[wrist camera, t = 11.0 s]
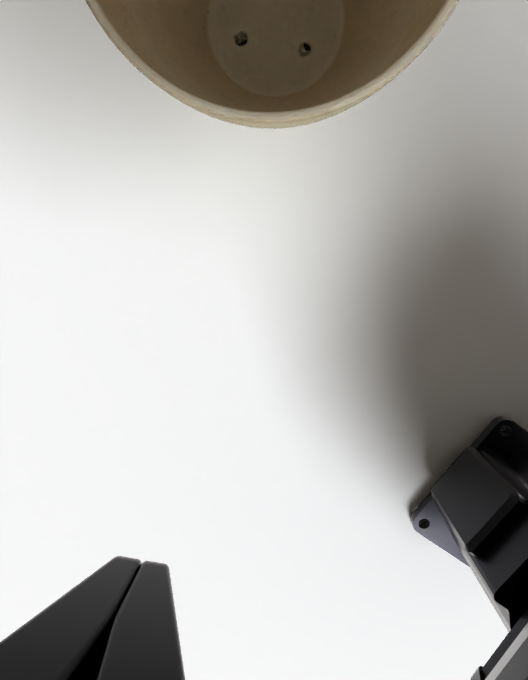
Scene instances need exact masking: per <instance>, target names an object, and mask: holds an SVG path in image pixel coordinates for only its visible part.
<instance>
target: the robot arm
mask: <svg viewBox="0 0 528 680" xmlns="http://www.w3.org/2000/svg"><path fill="white" fill-rule="evenodd" d="M505 425H507V429H506V431H504V432H501V433H500V429H501V427H503V426H505ZM422 519H427V520H426V522H425V523H422V524H420V523H419V521H420V520H422ZM411 523H412V525H413V527H414V529H415V530H416V531H417V532H418V533H420V534H421V535H423V536H424V537H426V538H427V539H429V540H430V541H432V542H433V543H435V544H436V545H438V546H439V547H441V548H442V549H444V550H445V551H447V552H448V553H450V554H451V555H453V556H454V557H456V558H457V559H459V560H460V561H462V562H463V563H465V564H466V565H468V566H469V567H470V568H471V569H472V571H473V573H474V574H475V576H476V578H477V580H478V581H479V583H480V585H481V586H482V588H483V590H484V591H485V593H486V595H487V596H488V598H489V600H490V601H491V603H492V605H493V606H494V608H495V610H496V611H497V613H498V615H499V617H500V618H501V620H502V622H503V623H504V625H505V627H506V628H507V630H508V632H509V633H508V635H507V636H506V637H505V639H504V640H503V641H502V643H501V644H500V645H499V647H498V648H497V649H496V651H495V652H494V654H493V655H492V656H491V658H490V659H489V660H488V662H487V663H486V664H485V666H484V667H482V666H480V667H478V669H477V670H476V672H475V673H474V674H473V676H472V677H471V680H528V431H526V430H525V429H523V428H522V427H521V426H519V425H518V424H516V423H515V422H514V421H512V420H511V419H509V418H507V417H498V418H496V419H494V420H493V421H492V422H491V423H490V424H489V426H488V427H487V428H486V429H485V430H484V431H483V433H482V434H481V435H480V436H479V437H478V438H477V439H476V441H475V442H474V443H473V444H472V445H471V446H470V448H467V449H465V450H464V451H463V452H462V454H461V455H460V456H459V457H458V458H457V459H456V461H455V462H454V463H453V464H452V465H451V466H450V467H449V469H448V470H447V471H446V472H445V473H444V474H443V476H442V477H441V478H440V479H439V480H438V481H437V483H436V484H435V485H434V486H433V487H432V489H431V493H430V494H429V495H428V496H427V497H426V498H425V499H424V501H423V502H422V503H421V504H420V505H419V506H418V508H417V509H416V510H415V511H414V512H413V514H412V515H411ZM0 680H185V676H184V669H183V662H182V655H181V648H180V641H179V634H178V627H177V620H176V614H175V607H174V600H173V593H172V586H171V579H170V572H169V567H168V566H167V565H166V564H163V563H157V562H151V561H145V562H143V563H141V561H140V560H139V559H134V558H128V557H122V556H118V557H115V558H113V559H112V560H111V561H109V562H108V563H107V564H105V565H104V566H102V567H101V568H100V569H98V570H97V571H96V572H94V573H93V574H92V575H90V576H89V577H88V578H86V579H85V580H84V581H82V582H81V583H80V584H78V585H77V586H76V587H74V588H73V589H71V590H70V591H69V592H67V593H66V594H65V595H63V596H62V597H61V598H59V599H58V600H57V601H55V602H54V603H53V604H51V605H50V606H49V607H47V608H46V609H44V610H43V611H42V612H40V613H39V614H38V615H36V616H35V617H34V618H32V619H31V620H30V621H28V622H27V623H26V624H24V625H23V626H22V627H20V628H19V629H18V630H16V631H15V632H13V633H12V634H11V635H9V636H8V637H7V638H5V639H4V640H3V641H1V642H0Z"/></svg>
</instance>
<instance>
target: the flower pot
mask: <svg viewBox="0 0 528 680" xmlns="http://www.w3.org/2000/svg"><path fill="white" fill-rule="evenodd" d="M458 1H459V0H86V2H87V4H88V6H89V7H90V9H91V11H92V12H93V14H94V16H95V17H96V19H97V21H98V22H99V24H100V25H101V27H102V28H103V30H104V31H105V33H106V34H107V35H108V36H109V38H110V39H111V40H112V42H113V43H114V44H115V45H116V47H117V48H118V49H119V50H120V51H121V52H122V54H123V55H124V56H125V57H126V58H127V59H128V60H129V61H130V62H131V63H132V64H133V65H134V66H135V67H136V68H137V69H138V70H139V71H140V72H142V73H143V74H144V75H145V76H146V77H147V78H149V79H150V80H151V81H152V82H154V83H155V84H156V85H157V86H159V87H160V88H161V89H163V90H164V91H166V92H167V93H169V94H170V95H172V96H173V97H175V98H176V99H178V100H179V101H181V102H183V103H184V104H186V105H188V106H190V107H192V108H194V109H196V110H198V111H200V112H202V113H204V114H207V115H209V116H211V117H214V118H217V119H220V120H223V121H226V122H229V123H233V124H238V125H242V126H248V127H256V128H287V127H295V126H301V125H306V124H310V123H313V122H317V121H320V120H323V119H326V118H328V117H331V116H334V115H336V114H338V113H340V112H343V111H345V110H347V109H349V108H350V107H352V106H354V105H356V104H358V103H360V102H362V101H363V100H365V99H366V98H368V97H369V96H371V95H372V94H374V93H375V92H377V91H378V90H380V89H381V88H382V87H383V86H385V85H386V84H387V83H389V82H390V81H391V80H392V79H393V78H395V77H396V76H397V75H398V74H399V73H400V72H401V71H402V70H403V69H405V68H406V67H407V66H408V65H409V64H410V63H411V62H412V61H413V60H414V59H415V58H416V57H417V56H418V55H419V54H420V53H421V52H422V51H423V50H424V49H425V48H426V46H427V45H428V44H429V43H430V42H431V40H432V39H433V38H434V37H435V36H436V34H437V33H438V32H439V30H440V29H441V28H442V27H443V25H444V24H445V22H446V21H447V19H448V18H449V16H450V15H451V13H452V11H453V10H454V8H455V7H456V5H457V3H458ZM243 41H246V44H244V45H242V46H239V44H240V43H241V42H243ZM304 44H307V45H308V46H309V47H310V49H311V50H309V51H308V50H305V48H304Z"/></svg>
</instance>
